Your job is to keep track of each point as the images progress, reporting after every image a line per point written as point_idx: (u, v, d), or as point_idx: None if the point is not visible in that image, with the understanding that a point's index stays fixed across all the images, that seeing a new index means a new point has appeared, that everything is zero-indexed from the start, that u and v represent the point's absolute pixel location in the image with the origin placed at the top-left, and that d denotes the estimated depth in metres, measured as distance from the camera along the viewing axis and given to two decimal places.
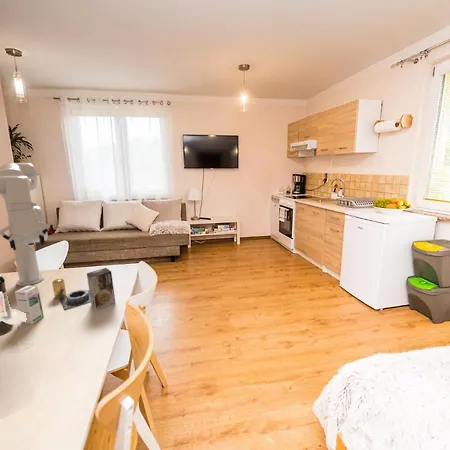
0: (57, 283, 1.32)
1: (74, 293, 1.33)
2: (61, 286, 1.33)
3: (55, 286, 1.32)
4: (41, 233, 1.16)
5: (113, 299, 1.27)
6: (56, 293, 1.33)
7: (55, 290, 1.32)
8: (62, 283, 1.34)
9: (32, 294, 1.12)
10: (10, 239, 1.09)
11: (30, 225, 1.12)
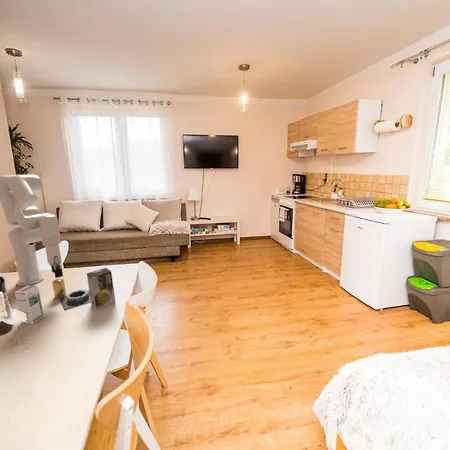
0: (57, 283, 1.32)
1: (74, 293, 1.33)
2: (61, 286, 1.33)
3: (55, 286, 1.32)
4: None
5: (113, 299, 1.27)
6: (56, 293, 1.33)
7: (55, 290, 1.32)
8: (62, 283, 1.34)
9: (32, 294, 1.12)
10: (60, 267, 1.28)
11: None
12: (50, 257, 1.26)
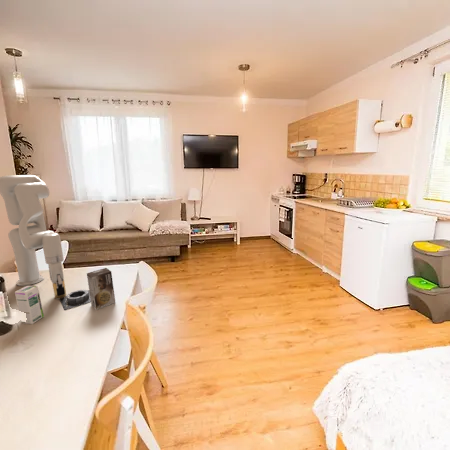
0: (57, 283, 1.32)
1: (74, 293, 1.33)
2: None
3: (55, 286, 1.32)
4: None
5: (113, 299, 1.27)
6: (56, 293, 1.33)
7: (55, 290, 1.32)
8: None
9: (32, 294, 1.12)
10: (62, 285, 1.32)
11: None
12: (53, 275, 1.28)
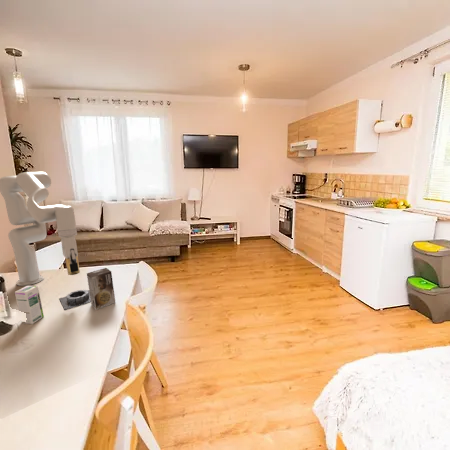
0: None
1: (74, 293, 1.33)
2: None
3: (68, 262, 1.25)
4: None
5: (113, 299, 1.27)
6: (69, 269, 1.26)
7: (68, 266, 1.26)
8: None
9: (32, 294, 1.12)
10: (76, 261, 1.26)
11: None
12: (66, 249, 1.21)
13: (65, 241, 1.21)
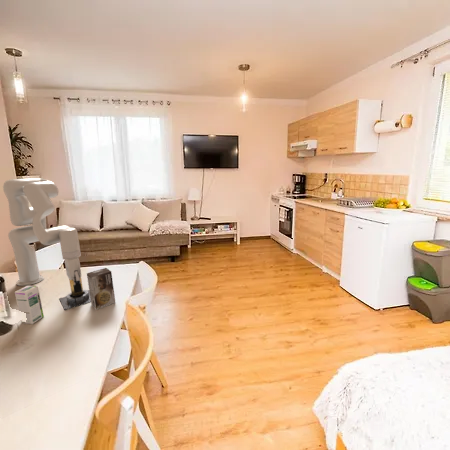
0: None
1: None
2: None
3: (72, 283, 1.27)
4: None
5: (113, 299, 1.27)
6: (73, 290, 1.28)
7: (72, 287, 1.28)
8: None
9: (32, 294, 1.12)
10: None
11: None
12: (70, 271, 1.23)
13: (69, 263, 1.23)
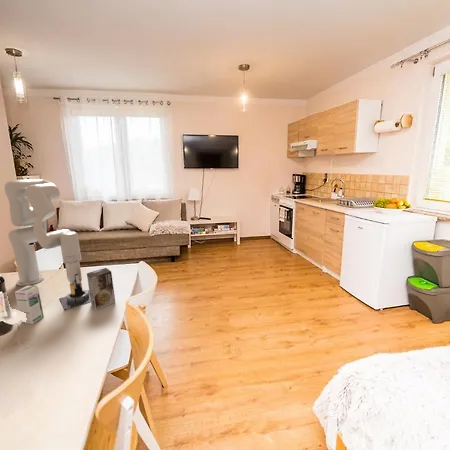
0: None
1: None
2: None
3: (73, 288, 1.28)
4: None
5: (113, 299, 1.27)
6: (74, 296, 1.29)
7: (73, 293, 1.29)
8: None
9: (32, 294, 1.12)
10: (80, 286, 1.27)
11: None
12: (71, 275, 1.24)
13: (70, 267, 1.23)
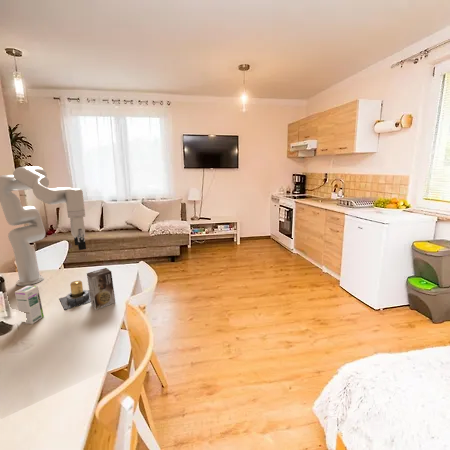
0: (75, 285, 1.28)
1: None
2: (79, 288, 1.29)
3: (73, 288, 1.28)
4: None
5: (113, 299, 1.27)
6: (74, 295, 1.29)
7: (73, 292, 1.29)
8: (80, 285, 1.30)
9: (32, 294, 1.12)
10: (84, 240, 1.32)
11: None
12: (75, 229, 1.29)
13: (74, 221, 1.29)
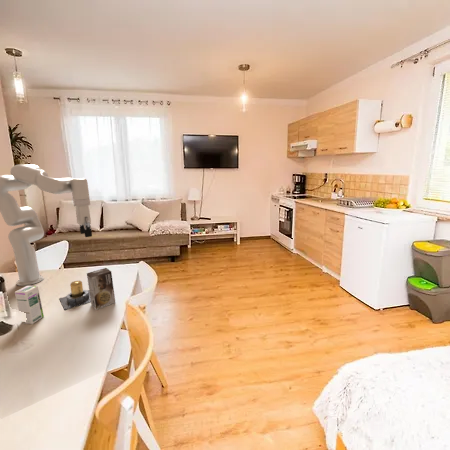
0: (75, 285, 1.28)
1: None
2: (79, 289, 1.29)
3: (73, 288, 1.28)
4: None
5: (113, 299, 1.27)
6: (73, 295, 1.29)
7: (73, 292, 1.29)
8: (80, 285, 1.30)
9: (32, 294, 1.12)
10: (90, 227, 1.37)
11: None
12: (81, 217, 1.35)
13: (80, 209, 1.34)
